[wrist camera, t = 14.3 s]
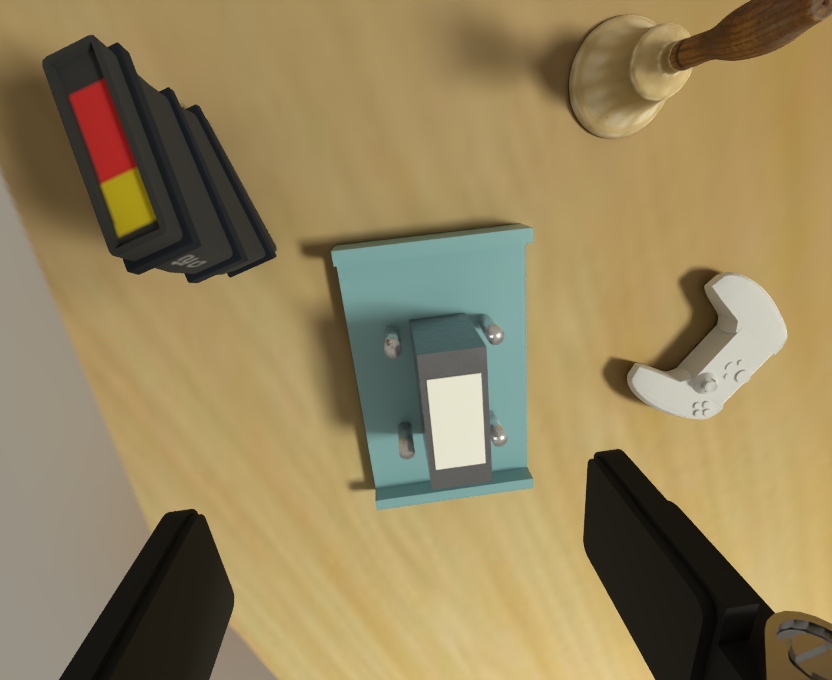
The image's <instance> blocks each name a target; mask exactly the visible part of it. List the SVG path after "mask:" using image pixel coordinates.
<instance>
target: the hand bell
mask: <svg viewBox="0 0 832 680" xmlns="http://www.w3.org/2000/svg"><path fill="white" fill-rule="evenodd" d="M831 14H832V0H751V1H749V2H747V3H745V4H744V5H742V6H740V7H739V8H737V9H736V10H734V11H733V12H731V13H730V14H729V15H727V16H726V17H725V18H724V19H723V20H722V21H721V22H720V23H719V24H718V25H716V26H715V27H714V28H712V29H710V30H708V31H706V32H703V33H700V34H697V35H694V36H690V34H689V33H688V32H687V31H686V30H685V29H684V28H683V27H682V26H680V25H677V24H674V23H663V24H659V25H657V24H656V23H655V22H653V21H652V20H650V19H648V18H645V17H642V16H639V15H632V14H628V15H620V16H617V17H614V18H611V19H609V20H607V21H605V22H604V23H602V24H600V25H599V26H598V27H597V28H595V29H594V30H593V31H592V32H591V33H590V34H589V35H588V37H587V38H586V39H585V40H584V42H583V43H582V45H581V47H580V48H579V50H578V52H577V54H576V56H575V59H574V61H573V64H572V68H571V72H570V77H569V94H570V102H571V105H572V108H573V111H574V113H575V115H576V117H577V119H578V120H579V122H580V123H581V124H582V125H583V127H585V128H586V129H587V130H588V131H589V132H591V133H592V134H594V135H597V136H599V137H603V138H609V139H617V138H622V137H626V136H629V135H632V134H634V133H636V132H638V131H639V130H641V129H642V128H644V127H645V126H646V125H647V124H648V123H649V122H650V121H651V120H652V119H653V118H654V117H655V116H656V115H657V113H658V112H659V111H660V109H661V108H662V106H663V104H664V102H665V100H666V99H667V98H669V97H671V96H672V95H674V94H675V93H676V92H678V91H679V90H680V89H681V87H682V86H683V85H684V84H685V83H686V81H687V79H688V78H689V76H690V74H691V71H692V68H693V67H695V66H697V65H700V64H702V63H704V62H707V61H709V60H714V59H718V60H727V61H736V60H744V59H750V58H754V57H758V56H761V55H764V54H767V53H770V52H773V51H775V50H777V49H779V48H781V47H783V46H785V45H787V44H788V43H790V42H792V41H793V40H794V39H796V38H797V37H799V36H800V35H801V34H803V33H804V32H805V31H807V30H808V29H809V28H811V27H812V26H814V25H816V24H817V23H819V22H821V21H823V20H825V19H827V18H828V17H829V16H830V15H831Z"/></svg>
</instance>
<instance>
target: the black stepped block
mask: <svg viewBox="0 0 832 680" xmlns="http://www.w3.org/2000/svg"><path fill="white" fill-rule="evenodd" d="M43 69H44V71H45V74H46V77H47V80H48V83H49V85H50V88H51V91H52V94H53V96H54V99H55V102H56V105H57V108H58V110H59V113H60V116H61V119H62V121H63V124H64V127H65V130H66V133H67V135H68V138H69V141H70V144H71V147H72V149H73V152H74V155H75V158H76V160H77V163H78V166H79V169H80V172H81V174H82V177H83V180H84V183H85V185H86V188H87V191H88V194H89V197H90V199H91V202H92V205H93V208H94V211H95V213H96V216H97V219H98V222H99V224H100V227H101V230H102V233H103V236H104V238H105V241H106V244H107V247H108V249H109V252H110V253H111V254H112V255H113V256H117V257H120V258H123V261H124V264H125V267H126V269H127V271H128V272H130V273H134V274H138V275H139V274H142V273H144V272H146V271H148V270H151V269H153V268H157V269H161V270H164V271H167V272H173V273H184V274H185V276H186V278H187V281H188V282H189V283H199V282H201V281H203V280H206V279H208V278H210V277H212V276H215V275H220V274H225V273H227V274H228V276H229V277H233V276H235V275H237V274H239V273H242V272H244V271H246V270H248V269H251V268H253V267H255V266H258V265H260V264H262V263H264V262H267V261H269V260H271V259H273V258H275V257H276V254H275V251H276V250H277V249H276V246H275V244H274V242H273V240H272V238H271V236H270V234H269V233H268V231H267V229H266V227H265V225H264V223H263V222H262V220H261V218H260V216H259V214H258V212H257V210H256V209H255V207H254V205H253V203H252V201H251V199H250V198H249V196H248V194H247V192H246V190H245V188H244V186H243V185H242V183H241V181H240V179H239V177H238V175H237V174H236V172H235V170H234V168H233V166H232V164H231V162H230V161H229V159H228V157H227V155H226V153H225V151H224V150H223V148H222V146H221V144H220V142H219V140H218V138H217V137H216V135H215V133H214V131H213V129H212V127H211V126H210V124H209V122H208V120H207V119H206V118H205V116H204V114H203V112H202V110H201V108H200V106H198V105H193V106H191V107H189V108H187V109H184V108H182V107H181V106H180V104H179V102H178V100H177V97H176V95H175V93H174V91H173V90H171V89H170V88H166V89H164V90H162V91H159V92H158V91H157V90H156V89H154V88H153V87H152V86H150V85H149V84H148V83H147V82H146V81H144V80H143V79H142V78H141V77H140V76H139V75H138V74H137V73H136V70H135V67H134V65H133V62H132V59H131V57H130V54H129V52H128V51H126V50H125V49H124V48H123V47H122V46H121V45H120V44H119V43H115V44H113V45H111V46H109V47H106V46H105V45H104V44H103V43H102V42H101V41H99V40H98V39H97V38H96V37H95V36H94V35H89V36H87V37H85V38H83V39H81V40H79V41H77V42H75V43H73V44H71V45H69V46H67V47H65V48H63V49H61V50H59V51H57V52H55V53H53V54H51V55H49V56H47V57H46V58H45V59H44V60H43Z"/></svg>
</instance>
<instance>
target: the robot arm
mask: <svg viewBox="0 0 832 680" xmlns="http://www.w3.org/2000/svg"><path fill="white" fill-rule="evenodd" d="M583 543H584V548H585V551H586V554H587V556H588V558H589V560H590V562H591V564H592V565H593V567H594V569H595V571H596V573H597V574H598V576H599V578H600V580H601V582H602V584H603V585H604V587H605V589H606V591H607V593H608V594H609V596H610V598H611V600H612V602H613V604H614V605H615V607H616V609H617V611H618V613H619V614H620V616H621V618H622V620H623V622H624V624H625V625H626V627H627V629H628V631H629V633H630V634H631V636H632V638H633V640H634V642H635V643H636V645H637V647H638V649H639V651H640V653H641V654H642V656H643V658H644V660H645V662H646V663H647V665H648V667H649V669H650V671H651V673H652V674H653V676H654V678H655V680H832V624H831V623H829V622H827V621H824V620H822V619H820V618H818V617H816V616H812V615H809V614H805V613H802V612H794V611H783V612H779V613H774V612H773V610H772V609H771V608H770V607H769V606H768V605H767V604H766V603H765V602H764V601H763V599H762V598H761V597H760V596H759V595H758V594H757V593H756V592H755V591H754V590H753V588H752V587H751V586H750V585H749V584H748V583H747V582H746V581H745V580H744V579H743V577H742V576H741V575H740V574H739V573H738V572H737V571H736V570H735V569H734V568H733V566H732V565H731V564H730V563H729V562H728V561H727V560H726V559H725V558H724V557H723V555H722V554H721V553H720V552H719V551H718V550H717V549H716V548H715V547H714V546H713V544H712V543H711V542H710V541H709V540H708V539H707V538H706V537H705V536H704V535H703V533H702V532H701V531H700V530H699V529H698V528H697V527H696V526H695V525H694V524H693V522H692V521H691V520H690V519H689V518H688V517H687V516H686V515H685V514H684V513H683V511H682V510H681V509H680V508H679V507H678V506H677V505H675V504H674V503H673V502H671V501H668V500H666V498H665V497H664V496H663V495H662V494H661V493H660V492H659V491H658V490H657V488H656V487H655V486H654V485H653V484H652V483H651V482H650V481H649V479H648V478H647V477H646V476H645V475H644V474H643V473H642V472H641V470H640V469H639V468H638V467H637V466H636V465H635V464H634V463H633V461H632V460H631V459H630V458H629V457H628V456H627V455H626V454H625V453H624V452H623V451H622V450H620V449H615V450H608V451H601V452H596V453H595V455H594V459H590V460H589V461H588V468H587V485H586V502H585V519H584V536H583ZM233 607H234V593H233V590H232V587H231V584H230V582H229V579H228V576H227V574H226V571H225V568H224V566H223V563H222V560H221V558H220V555H219V553H218V550H217V547H216V545H215V542H214V539H213V537H212V534H211V531H210V529H209V526H208V523H207V521H206V518H205V516H204V515H203V514H199V515H198V513H197V511H196V510H194V509H189V510H181V511H174V512H168V513H166V514H165V515H164V516H163V517H162V519H161V521H160V522H159V524H158V525H157V527H156V528H155V530H154V532H153V533H152V535H151V536H150V538H149V539H148V541H147V542H146V544H145V546H144V547H143V549H142V550H141V552H140V553H139V555H138V557H137V558H136V560H135V561H134V563H133V565H132V566H131V568H130V569H129V571H128V572H127V574H126V575H125V577H124V579H123V580H122V582H121V583H120V585H119V586H118V588H117V590H116V591H115V593H114V594H113V596H112V598H111V599H110V601H109V602H108V604H107V605H106V607H105V608H104V610H103V611H102V613H101V615H100V616H99V618H98V619H97V621H96V623H95V624H94V626H93V627H92V629H91V631H90V632H89V633H88V635H87V637H86V638H85V640H84V641H83V643H82V644H81V646H80V648H79V649H78V651H77V652H76V654H75V655H74V657H73V658H72V661H71V662H70V663H69V665H68V666H67V668H66V670H65V671H64V673H63V674H62V676H61V677H60V679H59V680H209V679H210V676H211V673H212V669H213V667H214V664H215V661H216V658H217V655H218V652H219V649H220V646H221V643H222V640H223V637H224V634H225V631H226V628H227V625H228V622H229V620H230V617H231V614H232V611H233Z"/></svg>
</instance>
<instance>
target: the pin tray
mask: <svg viewBox="0 0 832 680" xmlns="http://www.w3.org/2000/svg"><path fill="white" fill-rule="evenodd" d="M528 243H533V227H529V226H526V225H523V224H514V225H506V226H497V227H489V228H480V229H472V230H463V231H455V232H447V233H438V234H430V235H421V236H413V237H404V238H396V239H387V240H379V241H370V242H362V243H354V244H345V245H337V246H334V248H333V249H332V251H331V254H332V260H333V266H334V267H336V266H337V271H338V277H339V283H340V289H341V294H342V300H343V306H344V311H345V317H346V323H347V328H348V334H349V340H350V345H351V351H352V357H353V362H354V368H355V374H356V379H357V385H358V391H359V396H360V402H361V408H362V413H363V419H364V425H365V430H366V436H367V442H368V448H369V453H370V459H371V465H372V470H373V476H374V482H375V487H376V506H377V510H382V509H389V508H396V507H403V506H410V505H417V504H424V503H431V502H438V501H445V500H452V499H459V498H466V497H473V496H480V495H487V494H494V493H501V492H508V491H515V490H522V489H529V488H533V478H532V476H531V474H530V472H529V470H528V468H527V381H526V244H528ZM458 313H466V315H467V317H468V318H469V320H470V321H471V323H472V324H473V326H474V328H475V329H476V331H477V332H478V334H479V335H480V337H481V339H482V340H483V342H484V343H485V345H486V346H487V368H488V391H489V414H490V437H491V460H492V482H485V483H478V484H471V485H464V486H457V487H449V488H442V489H435V490H432V488H431V482H430V476H429V470H428V464H427V458H426V452H425V447H424V441H423V435H422V426H421V418H420V409H419V400H418V392H417V383H416V374H415V366H414V357H413V348H412V339H411V331H410V322H409V320H410V319H418V318H426V317H434V316H442V315H450V314H458Z"/></svg>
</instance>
